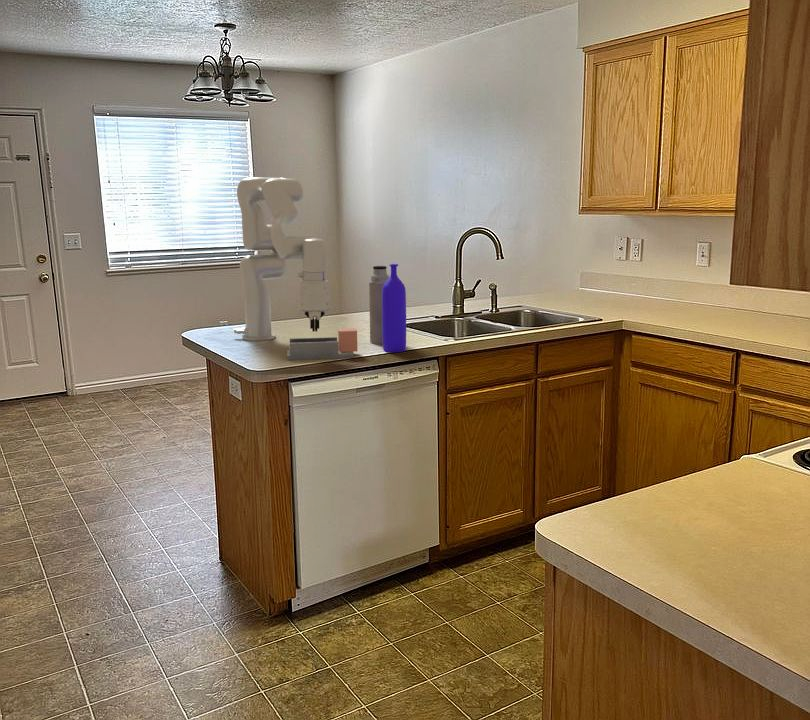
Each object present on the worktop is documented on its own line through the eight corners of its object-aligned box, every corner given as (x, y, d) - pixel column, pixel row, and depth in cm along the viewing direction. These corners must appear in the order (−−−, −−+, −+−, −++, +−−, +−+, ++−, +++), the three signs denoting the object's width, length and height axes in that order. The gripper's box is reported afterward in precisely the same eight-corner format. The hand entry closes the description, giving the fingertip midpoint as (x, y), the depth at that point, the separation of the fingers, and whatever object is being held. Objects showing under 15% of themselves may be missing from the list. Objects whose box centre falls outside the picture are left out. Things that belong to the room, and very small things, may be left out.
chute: (287, 360, 245) (286, 343, 244) (287, 354, 255) (286, 338, 254) (353, 357, 248) (353, 341, 247) (351, 351, 258) (351, 336, 257)
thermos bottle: (377, 339, 280) (376, 264, 274) (395, 341, 276) (394, 265, 270) (365, 342, 274) (364, 266, 268) (384, 344, 270) (383, 267, 264)
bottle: (377, 350, 260) (376, 264, 254) (394, 347, 266) (394, 262, 259) (394, 353, 254) (393, 265, 248) (411, 350, 260) (410, 264, 253)
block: (339, 352, 249) (339, 331, 248) (338, 348, 255) (338, 328, 253) (357, 351, 250) (357, 330, 249) (356, 348, 256) (355, 328, 254)
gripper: (291, 278, 241) (292, 333, 246) (337, 278, 243) (337, 333, 248) (291, 275, 248) (292, 328, 253) (336, 275, 250) (336, 328, 255)
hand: (314, 330), depth 250 cm, fingers closed
